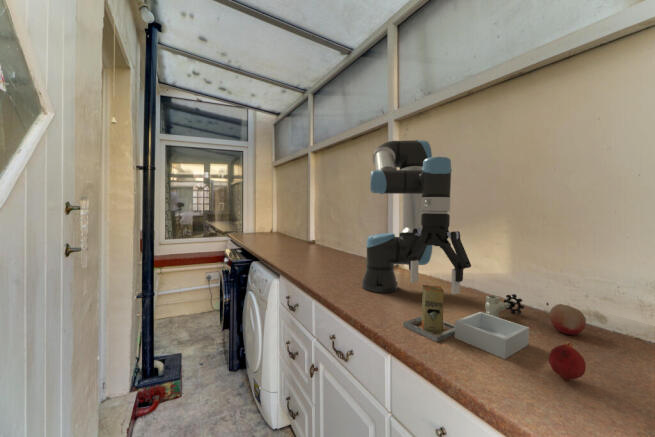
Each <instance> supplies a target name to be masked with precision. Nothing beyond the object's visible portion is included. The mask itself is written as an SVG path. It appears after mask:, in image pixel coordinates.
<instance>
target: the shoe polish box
mask: <svg viewBox="0 0 655 437" xmlns="http://www.w3.org/2000/svg"><path fill="white" fill-rule="evenodd" d="M444 292H445V291H444V289H443V288H442V286H441V285H438V286H437V285H427V284H426V285H425V284H423V285H422V298H421V301H422V303H421V304H422V306H421V316H422V323H421V328H422V329H424V330H426V331H428V332H431V333H433V334H439V333H442V332H444V331H443V328H444V326H443V321H444V300H445V299H444V296H445V293H444Z"/></svg>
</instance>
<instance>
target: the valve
mask: <svg viewBox="0 0 655 437" xmlns="http://www.w3.org/2000/svg"><path fill="white" fill-rule="evenodd" d="M505 297H506V299H504V300H503V302H502V301H500V297H498V296H495V295H486V296H485V305H484V308H485V313H486V314H489V315H492V316H495V317H498V318H500V313H499V312H502V311H504V310H505V309H506V310H510V313H511V314H512V315H515V314H516V313H517V315H520V314H522V312H523V311H522V310H523V309H525V305H523V304H521V303H522V302H523V299H522V298H517V294H514V293H513V294H511V295H510V294H506V295H505ZM513 300H514V301H513ZM515 307H517V308H515Z"/></svg>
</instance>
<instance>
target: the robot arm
mask: <svg viewBox="0 0 655 437" xmlns="http://www.w3.org/2000/svg"><path fill="white" fill-rule="evenodd" d="M432 154H433V153H432V148H431V144H430V143H429V142H428V141H427V140H421V139H420V140H419V139H415V140H413V139H412V140H390V141H386V142H384V143H382V144H380V145H378V147H377V148H375V149H374V151H373V153H372V158H371V160H372V163H373V165H374V167H375V170H372V171H371V172H370V181H369V182H370V184H369V185H370V187H369V191H370V192H371V193H372V194H380V195H384V194H385V195H386V194H387V195H389V194H391V195H392V194H393V195H395V194H398V195H399V194H401V195H402V196H403V197H402V201H403V202H402V204H403V205H402V208H403V209H402V212H403V213H402V214H403V215H402V221H403V222H402V230H401V231H399V236H396V234H395V233H393V232H390V233H388V232H386V233H376V234H371V235H369V236H368V237H367V239H366V246H365V247H366V268H365V269H366V270H365V273H364V276H363V279H362V280H361V287H362V289H364V290H366V291H370V292H374V293H393V292H395V291H396V292H397V291H398V282H397V279H396V274H395V270H394V269H395V268H394V267H395V265H406V266H408V270H409V271H410V273H409V274H410V277H409V278H410V279H409V280H410V281H409V282H410V283H411V284H413V283H417V282H419V266H426V265H427V264H428V263H429V262H430V260H431V258H432V254H433V246H434V247H439V248H440V249H442V251H443V253H445V255H446V257H447V258H448V260H449V261H450V262H451V264H452V266H453V267H454V268H452V269H451V286H450V288H451V289H450V294H452V295H457V294H460V292H461V282H463V280H464V270H465V269H469V268H471V267H472V264H471V262H470V259H469V256H468V254H467V251H466V249H465V247H464V245H463V243H462V240H461V232H460V231H458V230H457V231H456V230H455V231H450V230H449V229H450V228H449V227H450V220H451V219H450V218H451V216H450V211H451V187H452V185H451V184H452V182H451V181H452V171H453V169H452V160H451V158H449V157H446V156H433V155H432ZM397 168H399V169H397ZM448 239H450V241H449V240H448ZM450 242H451V243H450ZM452 246H453V247H452Z"/></svg>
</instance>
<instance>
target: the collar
mask: <svg viewBox="0 0 655 437" xmlns="http://www.w3.org/2000/svg"><path fill="white" fill-rule="evenodd" d="M418 324H422V315H421V316H418V317H415V318H412V319H409V320H405V321H403V322H402V327H403V328H406V329H408V330H410V331H412V332H414V333H417V334H419V335H421V336H422V337H425V338H426V339H429V340H431V341H433V342H435V343H438V342H440V341H443V340H445V339H448V338H450V337H453V336H455V323H454V324H453V323H450V322H448V321H447V320H446V321H445V320H443V328H447V330H445V331H443V332H442V333H431V332H428V331H426V330H424V329H423V327H420V326H417V325H418Z"/></svg>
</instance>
